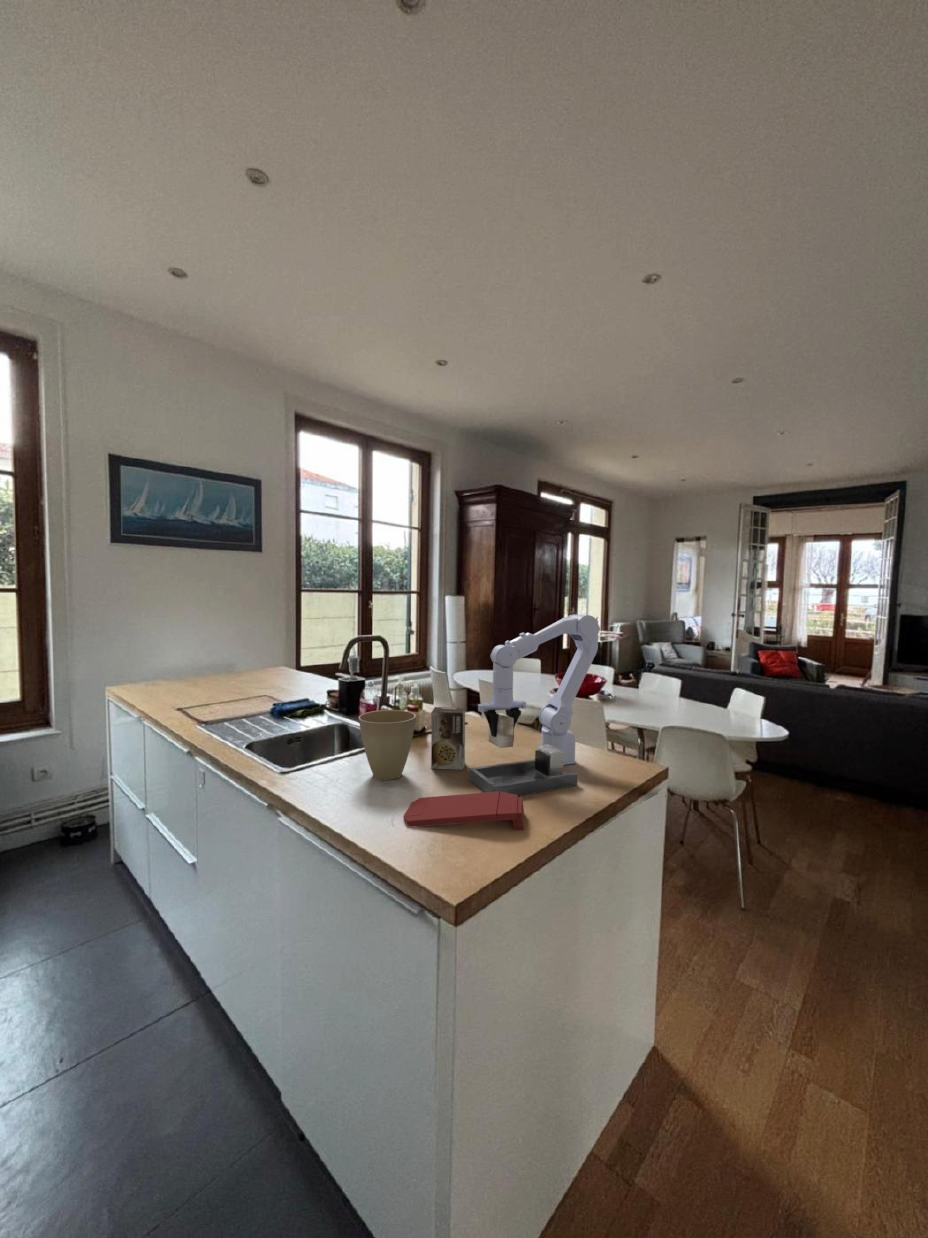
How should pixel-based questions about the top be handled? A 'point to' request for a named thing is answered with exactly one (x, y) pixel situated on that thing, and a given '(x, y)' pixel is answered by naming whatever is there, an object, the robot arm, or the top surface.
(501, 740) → the finger block
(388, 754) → the plant pot
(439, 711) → the food box
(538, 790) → the tray
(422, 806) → the red bent plate
